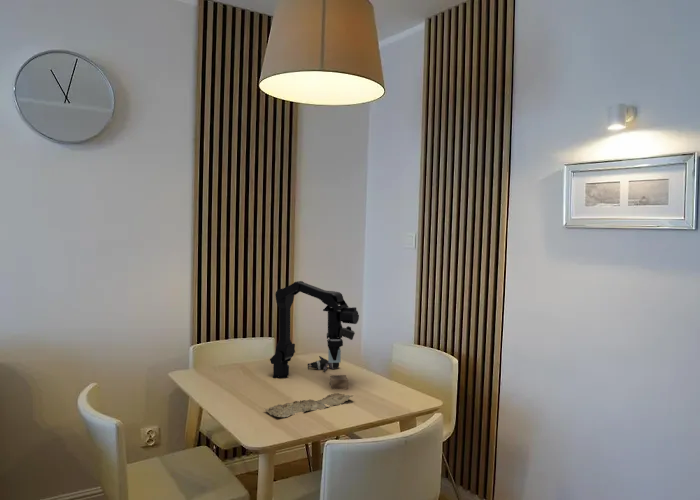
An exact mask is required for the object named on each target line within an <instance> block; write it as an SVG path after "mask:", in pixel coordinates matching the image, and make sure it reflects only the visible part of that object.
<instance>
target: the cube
mask: <svg viewBox="0 0 700 500" xmlns="http://www.w3.org/2000/svg"><path fill="white" fill-rule="evenodd" d="M327 349H328V352H327V353H328V355H327V356H328V359H327V360H328V361H329V363H339V364H341V361H342V360H341V358H342V357H341V354H342V352H341V351H342V350H341V347H340V348H339V349H338V353H337V358H336V360H333V358H332V355H331V353H330V350H329V348H328V347H327Z"/></svg>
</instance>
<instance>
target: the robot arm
mask: <svg viewBox="0 0 700 500" xmlns="http://www.w3.org/2000/svg"><path fill="white" fill-rule="evenodd" d="M299 293H302V294H305V295H308V296H310V297H313V298H315V299H318V300H320V301H321V302H322V303H323V304H324V305H326V306H325V307H324V309H323V310H322V311H323V312H327V332H326V339H327V340H326V341H327V349H328V348H329V350H330V353H331V355H332V358H333V360H336V358H337V353H338V349H339V348H340V349H341V347H343V346H344V342H343V341H344V340H343V338H347V339H348V340H350V341H353V339H354V336H355V334H356V333H355V331H354V330H353V329H352V327H351V326H349V325H348V326H346V327H343V325H342V323H343V324H350V325H352V324H353V325H356V324H358V322H359V320H360V314H359V311H358V310H357V307H354V306H353V307H349V305H348V303H347V302H346V301H345V300H344V296H343V294H342V292H339V291H334V290H325V289H323V288H320V287H317V286H315V285H312V284H308V283H307V282H304V281H302V280H298V281H295V282H293V283H291V284H289V285H288V286H285V287H283V288H279V289H277V291H276V292H275V294H274V295H275V302H276V304H277V306H278V309H279V310H278V311H279V313H278V315H279V316H278V317H279V318H278V319H279V325H278V330H279V331H278V337H279V338H278V342H277V344H276V346H275V352H274V355H273V356H272V357H270V359H269V361H270V363H271V365H272V366H273V367H272V368H273V370H272V371H273V372H272V373H273V375H272V378H273V379H275V378H276V379H283V378H285V379H286V378H287V379H288V377H289V375H290V365H289V362H291V360H292V358H293V357H294V355H295V353H296V350H295V347H296V344H295V343H293V342H292V341H291V307H292V305H293V304H294V298H295V296H296V295H297V294H298V295H299Z"/></svg>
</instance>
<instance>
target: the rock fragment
mask: <svg viewBox="0 0 700 500" xmlns="http://www.w3.org/2000/svg"><path fill="white" fill-rule="evenodd" d="M351 397H353V395H350V394H346V395H345V393H338V392H337V393H331V394H329V395H327V396H325V397H322V399H319V400H314V399H307V400H306V399H305V400H300V401H298V400H295V401H293V402H290V403H289V402H287V403H284V404H280V403H278V404H277V405H274V406H269V407H268V408H264V410H265V412H266V413H268V414H269V415H270V416H274V417H277V418H288V417H290V416H291V415H292V416H293V415H295V414H298V413H302V414H304V413H305V412H309V411H310V412H311V411H317V410H325V408H327V405H328V408H331V407H333V406H336V405H337V406H342V405H343V404H344V403H345V402H346V401H347V402H348V401H349V400H350V398H351Z"/></svg>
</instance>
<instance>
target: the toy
mask: <svg viewBox="0 0 700 500" xmlns="http://www.w3.org/2000/svg"><path fill="white" fill-rule="evenodd" d="M318 357H319V360H316V361H314V362H310V363H307V369H308V371H309V370H310V368H312V369H316V370H318V371H321V370H323V371H322V373H324V372H326V370H327V369H328V368H329V369H330V370H336V369H338V368H339V366H340V363H329V361H328V359H326V358H324V357H322V356H320V355H319V356H318Z"/></svg>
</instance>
